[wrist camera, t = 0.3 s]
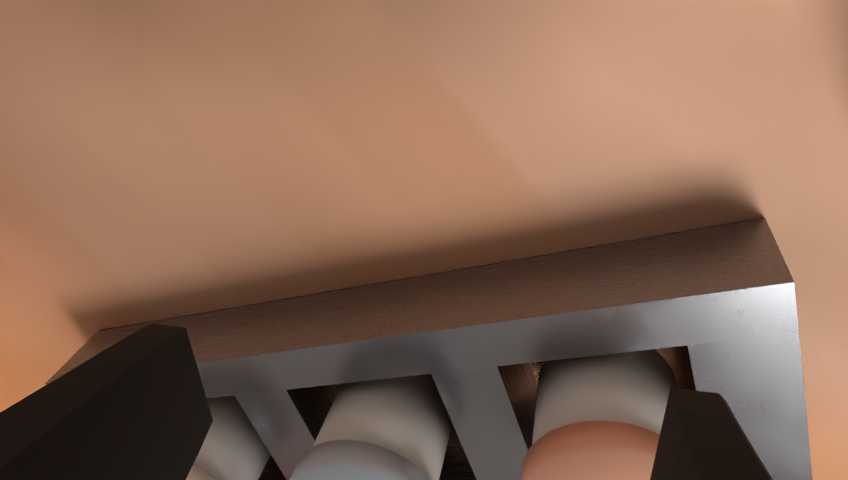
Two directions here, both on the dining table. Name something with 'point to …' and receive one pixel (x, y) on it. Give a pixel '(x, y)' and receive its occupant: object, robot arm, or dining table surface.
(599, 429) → the peach ball
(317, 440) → the slate button
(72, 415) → the robot arm
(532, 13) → the dining table surface
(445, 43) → the dining table surface
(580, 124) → the dining table surface
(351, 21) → the dining table surface
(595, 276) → the panel
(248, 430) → the cream button
